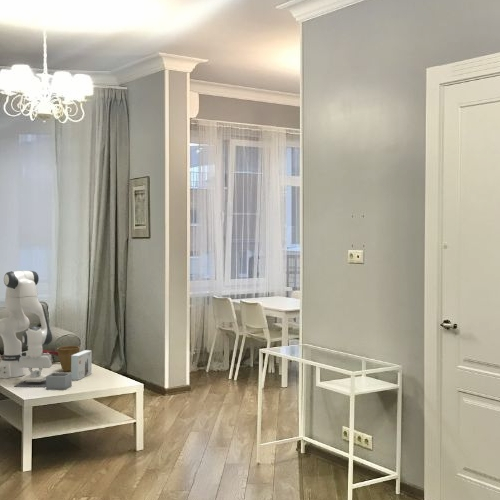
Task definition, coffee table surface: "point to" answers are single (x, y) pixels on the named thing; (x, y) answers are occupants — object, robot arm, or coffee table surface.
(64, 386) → the grey storage box
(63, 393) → the coffee table surface
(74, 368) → the skincare box
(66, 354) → the plant pot
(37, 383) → the black rubber mat
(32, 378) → the cream lid
